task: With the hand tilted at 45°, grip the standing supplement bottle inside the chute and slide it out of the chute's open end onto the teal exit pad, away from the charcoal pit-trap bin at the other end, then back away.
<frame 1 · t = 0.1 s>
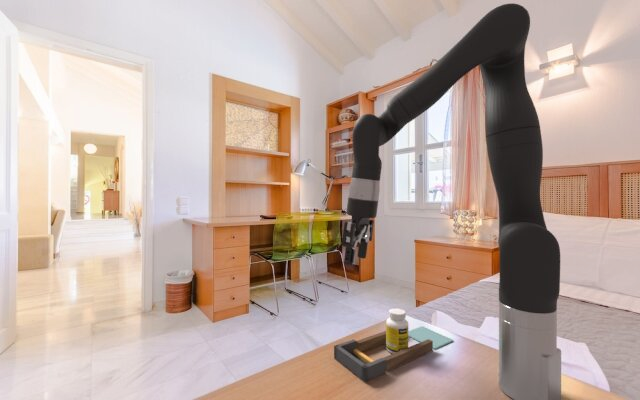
hand: (355, 260, 74), 22 cm above the table, tool pointing down, fingers open, 8 cm apart
exit pad: (427, 337, 80), on the table
supplement bottle: (397, 350, 73), on the table
chute: (394, 351, 73), on the table
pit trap: (358, 365, 67), on the table
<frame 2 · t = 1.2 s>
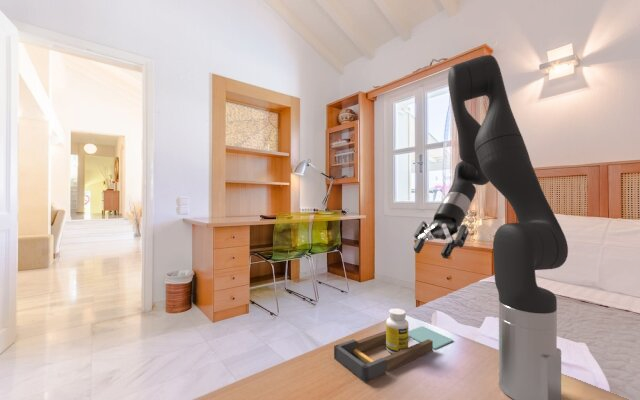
hand: (429, 254, 80), 23 cm above the table, tool tilted 45°, fingers open, 8 cm apart
nothing on the table moved.
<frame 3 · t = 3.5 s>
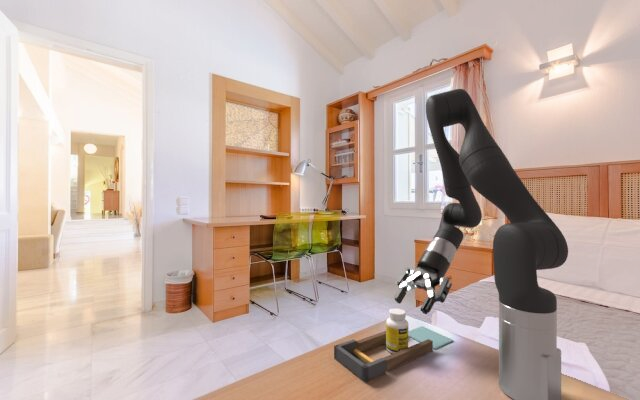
hand: (409, 306, 76), 10 cm above the table, tool tilted 45°, fingers open, 8 cm apart
nothing on the table moved.
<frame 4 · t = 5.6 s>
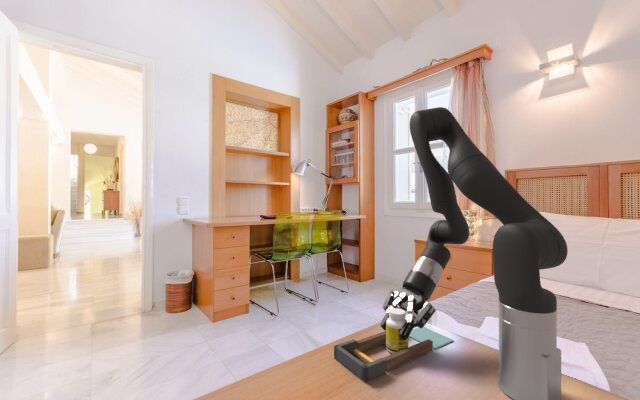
hand: (392, 333, 72), 5 cm above the table, tool tilted 45°, fingers closed on supplement bottle, 5 cm apart
supplement bottle: (397, 350, 73), on the table, touching gripper
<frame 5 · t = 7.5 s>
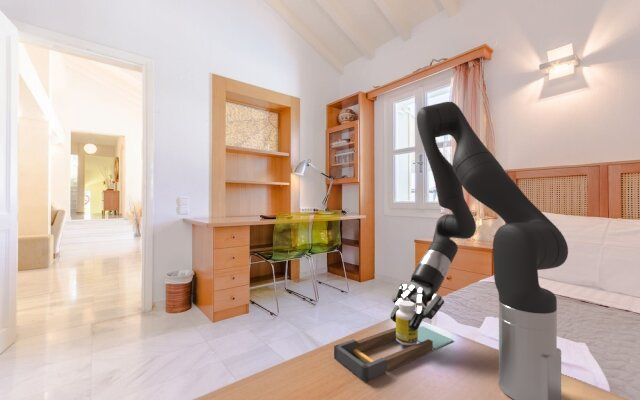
hand: (402, 324, 74), 6 cm above the table, tool tilted 45°, fingers closed on supplement bottle, 5 cm apart
supplement bottle: (406, 341, 75), point 1 cm above the table, touching gripper
when the fingers open (6 cm above the table, at t = 9.6 s): supplement bottle stays where it is, resting on exit pad.
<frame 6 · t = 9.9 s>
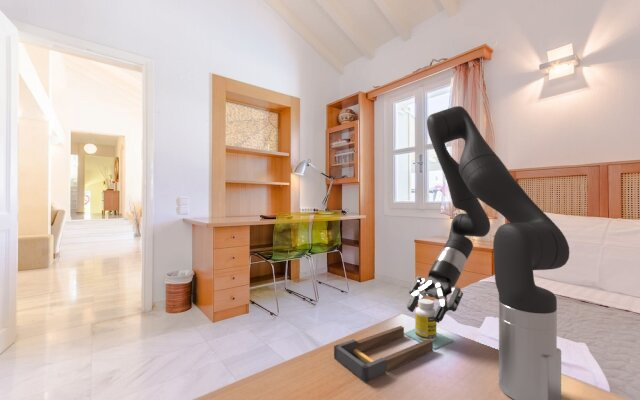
hand: (422, 315, 79), 7 cm above the table, tool tilted 45°, fingers open, 8 cm apart
supplement bottle: (425, 337, 79), resting on exit pad
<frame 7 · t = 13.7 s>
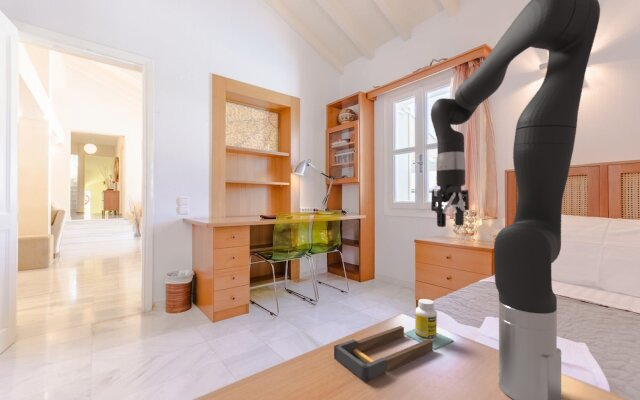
hand: (450, 225, 84), 30 cm above the table, tool pointing down, fingers open, 8 cm apart
nothing on the table moved.
at the end: supplement bottle inside the target area (0.8 cm from its centre), resting on exit pad; supplement bottle tilted 0°; the gripper is holding nothing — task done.
